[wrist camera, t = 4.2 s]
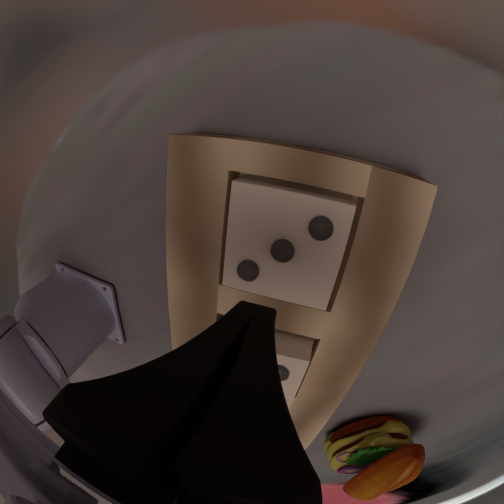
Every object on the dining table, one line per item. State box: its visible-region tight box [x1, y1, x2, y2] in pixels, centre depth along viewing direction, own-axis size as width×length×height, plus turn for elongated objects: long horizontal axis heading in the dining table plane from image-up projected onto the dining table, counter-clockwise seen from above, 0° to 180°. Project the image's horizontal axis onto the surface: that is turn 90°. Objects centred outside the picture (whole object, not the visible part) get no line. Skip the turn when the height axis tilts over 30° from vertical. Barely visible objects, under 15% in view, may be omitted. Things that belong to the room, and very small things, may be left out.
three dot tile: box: [222, 173, 356, 311], centre depth 15 cm, size 6×6×3 cm
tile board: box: [166, 133, 438, 450], centre depth 20 cm, size 14×28×3 cm, turn 173°
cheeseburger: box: [324, 416, 425, 500], centre depth 20 cm, size 10×11×10 cm
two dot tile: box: [275, 329, 313, 409], centre depth 18 cm, size 6×6×3 cm
